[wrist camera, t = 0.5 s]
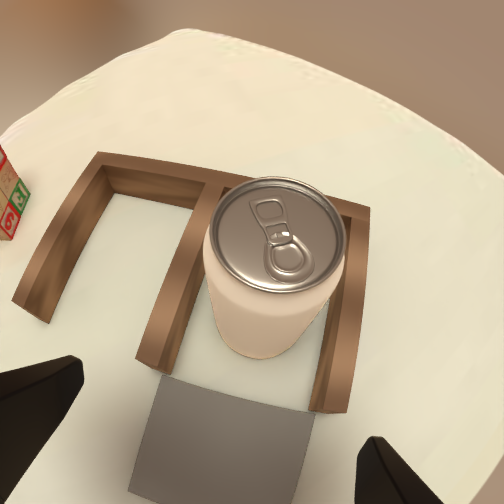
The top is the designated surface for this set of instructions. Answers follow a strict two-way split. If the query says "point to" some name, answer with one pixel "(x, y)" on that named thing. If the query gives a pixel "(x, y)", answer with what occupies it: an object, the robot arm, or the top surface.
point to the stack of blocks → (10, 198)
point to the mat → (218, 449)
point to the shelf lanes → (191, 262)
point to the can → (271, 262)
